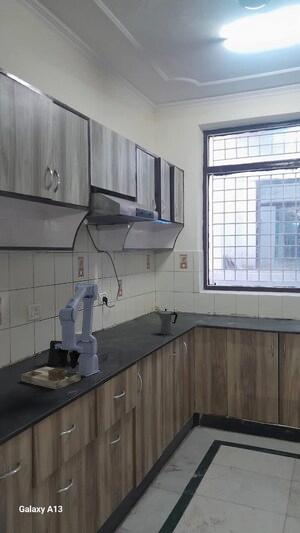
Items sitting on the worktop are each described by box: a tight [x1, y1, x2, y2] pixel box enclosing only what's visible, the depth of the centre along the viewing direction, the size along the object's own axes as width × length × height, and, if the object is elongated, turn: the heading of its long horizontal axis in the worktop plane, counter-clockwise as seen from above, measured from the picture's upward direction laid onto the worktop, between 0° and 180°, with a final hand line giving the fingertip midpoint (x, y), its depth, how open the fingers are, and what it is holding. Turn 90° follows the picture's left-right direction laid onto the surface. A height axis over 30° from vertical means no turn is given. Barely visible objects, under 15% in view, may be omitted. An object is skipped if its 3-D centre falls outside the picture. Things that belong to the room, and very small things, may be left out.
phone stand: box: [47, 340, 62, 367], centre depth 212 cm, size 9×6×12 cm, turn 166°
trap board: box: [20, 366, 82, 390], centre depth 183 cm, size 15×22×3 cm, turn 58°
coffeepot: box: [156, 308, 179, 336], centre depth 287 cm, size 15×9×18 cm, turn 70°
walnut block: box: [48, 367, 66, 381], centre depth 176 cm, size 5×5×4 cm
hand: (69, 367), depth 172 cm, fingers open, 5 cm apart
